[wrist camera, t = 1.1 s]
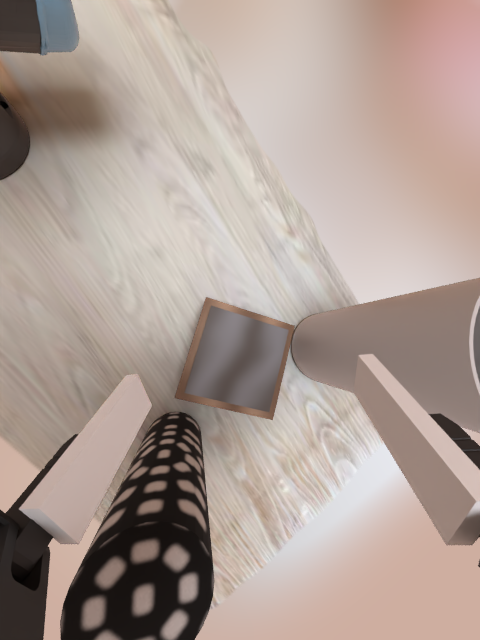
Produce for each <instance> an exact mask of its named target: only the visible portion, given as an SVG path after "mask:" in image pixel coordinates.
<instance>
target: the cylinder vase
mask: <svg viewBox="0 0 480 640" xmlns="http://www.w3.org/2000/svg"><path fill="white" fill-rule="evenodd" d="M292 354H293V358H294V360H295V363H296V365H297V366H298V368H299V369H300V370H301V372H302V373H303V374H305V375H306V376H307V377H309V378H310V379H313V380H315V381H318V382H321V383H325V384H328V385H331V386H334V387H337V388H340V389H343V390H346V391H350V392H353V391H354V383H355V376H356V368H357V361H358V355H365V354H373V355H374V356H375V357H376V358H377V359H378V360H379V361H380V362H381V363H382V364H383V366H384V367H385V368H386V369H387V370H388V371H389V372H390V373H391V374H392V375H393V376H394V377H395V379H396V380H397V381H398V382H399V383H400V384H401V385H402V386H403V387H404V388H405V389H406V390H407V392H408V393H409V394H410V395H411V396H412V397H413V398H414V399H415V400H416V401H417V402H418V403H419V405H420V406H421V407H422V408H423V409H424V410H425V411H426V412H427V413H428V414H437V413H441V414H442V415H444V416H445V417H447V418H449V419H450V420H452V421H453V422H455V423H456V424H458V425H459V426H460V427H462V428H466V429H469V430H472V431H475V432H478V433H480V278H477V279H472V280H467V281H463V282H458V283H454V284H449V285H445V286H440V287H436V288H431V289H427V290H422V291H418V292H414V293H409V294H405V295H400V296H395V297H391V298H386V299H382V300H377V301H373V302H368V303H364V304H359V305H355V306H350V307H346V308H341V309H337V310H332V311H327V312H323V313H318V314H314V315H311V316H309V317H307V318H306V319H304V320H303V321H302V322H301V323H300V324H299V325H298V327H297V328H296V330H295V332H294V335H293V339H292ZM353 393H354V392H353Z"/></svg>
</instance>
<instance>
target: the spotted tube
mask: <svg viewBox="0 0 480 640" xmlns="http://www.w3.org/2000/svg"><path fill="white" fill-rule="evenodd" d="M213 588H214V572H213V561H212V550H211V539H210V528H209V517H208V506H207V495H206V484H205V473H204V462H203V451H202V440H201V431H200V428H199V425H198V424H197V422H196V421H195V420H194V419H193V418H192V417H191V416H189V415H187V414H185V413H181V412H173V413H168V414H165V415H163V416H161V417H160V418H158V419H157V420H156V421H155V422H154V423H153V424H152V425H151V426H150V428H149V430H148V432H147V433H146V435H145V437H144V439H143V441H142V443H141V445H140V447H139V449H138V451H137V453H136V455H135V457H134V459H133V461H132V463H131V465H130V467H129V469H128V471H127V473H126V475H125V477H124V479H123V481H122V483H121V485H120V487H119V489H118V491H117V493H116V495H115V497H114V499H113V501H112V503H111V505H110V507H109V509H108V511H107V513H106V515H105V517H104V519H103V521H102V523H101V525H100V527H99V529H98V531H97V533H96V535H95V537H94V539H93V541H92V543H91V546H90V547H89V549H88V552H87V554H86V555H85V557H84V559H83V561H82V564H81V566H80V567H79V569H78V572H77V574H76V575H75V577H74V579H73V581H72V583H71V585H70V587H69V590H68V593H67V596H66V598H65V601H64V604H63V610H62V616H61V621H60V626H61V640H195V638H196V636H197V634H198V633H199V631H200V629H201V628H202V626H203V624H204V621H205V619H206V617H207V614H208V612H209V609H210V605H211V601H212V597H213Z"/></svg>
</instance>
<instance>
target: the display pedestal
mask: <svg viewBox="0 0 480 640" xmlns="http://www.w3.org/2000/svg"><path fill="white" fill-rule="evenodd" d="M293 331H294V326H293V325H290V324H287V323H284V322H281V321H278V320H275V319H272V318H269V317H266V316H263V315H260V314H256V313H253V312H250V311H247V310H244V309H241V308H238V307H235V306H232V305H229V304H226V303H223V302H219V301H216V300H213V299H210V298H207V297H206V299H205V302H204V306H203V309H202V312H201V315H200V318H199V321H198V325H197V328H196V331H195V334H194V337H193V341H192V344H191V347H190V350H189V353H188V357H187V360H186V363H185V366H184V369H183V373H182V376H181V379H180V382H179V385H178V388H177V392H176V395H175V398H177V399H181V400H186V401H190V402H195V403H199V404H204V405H208V406H213V407H217V408H222V409H226V410H231V411H235V412H240V413H244V414H248V415H253V416H257V417H262V418H266V419H271V420H273V416H274V412H275V408H276V403H277V399H278V395H279V391H280V386H281V382H282V378H283V373H284V369H285V365H286V361H287V356H288V352H289V348H290V343H291V339H292V335H293Z"/></svg>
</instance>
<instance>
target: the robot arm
mask: <svg viewBox="0 0 480 640" xmlns="http://www.w3.org/2000/svg"><path fill="white" fill-rule="evenodd" d="M78 42H79V31H78V26H77V22H76V18H75V14H74V10H73V6H72V2H71V0H0V51H9V52H25V53H39V54H40V55H46V54H47V52H72V51H73V50H74V49H75V48H76V47H77V45H78ZM28 150H29V134H28V130H27V128H26V125H25V123H24V122H23V120H22V118H21V117H20V116H19V114H18V113H17V112H16V111H15V109H14V108H13V107H12V105H11V104H10V103H9V101H8V100H7V99H6V98H5V97H4V96H3V95H2V94H1V93H0V179H2V178H4V177H6V176H8V175H9V174H11V173H12V172H14V171H15V170H16V169H17V168H18V167H19V166H20V165H21V164H22V163H23V161H24V160H25V158H26V156H27V153H28ZM353 392H354V394H355V395H356V397H357V398H358V400H359V402H360V403H361V405H362V407H363V408H364V410H365V412H366V413H367V415H368V417H369V418H370V420H371V422H372V423H373V425H374V427H375V428H376V430H377V431H378V433H379V435H380V436H381V438H382V440H383V441H384V443H385V445H386V446H387V448H388V450H389V451H390V453H391V455H392V456H393V458H394V459H395V461H396V463H397V464H398V466H399V468H400V469H401V471H402V473H403V474H404V476H405V478H406V479H407V481H408V483H409V484H410V486H411V487H412V489H413V491H414V493H415V494H416V496H417V497H418V499H419V501H420V502H421V504H422V506H423V507H424V509H425V511H426V512H427V514H428V515H429V517H430V519H431V521H432V522H433V524H434V526H435V527H436V529H437V530H438V532H439V534H440V535H441V537H442V539H443V540H444V542H445V544H446V545H472V544H474V542H475V541H476V540H477V539H478V538H479V537H480V446H479V445H478V444H477V443H476V442H475V441H474V440H471V438H470V436H469V435H468V434H467V433H466V432H465V431H464V430H463V429H462V428H461V427H460V426H459V425H458V424H456V423H455V422H453V421H452V420H450V419H449V418H447V417H445V416H444V415H442V414H441V413H437V414H428V413H427V412H426V411H425V410H424V409H423V408H422V407H421V406H420V405H419V403H418V402H417V401H416V400H415V399H414V398H413V397H412V396H411V395H410V394H409V393H408V392H407V390H406V389H405V388H404V387H403V386H402V385H401V384H400V383H399V382H398V381H397V380H396V379H395V377H394V376H393V375H392V374H391V373H390V372H389V371H388V370H387V369H386V368H385V367H384V366H383V364H382V363H381V362H380V361H379V360H378V359H377V358H376V357H375V356H374V355H373V354H365V355H358V361H357V368H356V376H355V383H354V391H353ZM151 407H152V404H151V402H150V400H149V398H148V395H147V393H146V391H145V389H144V386H143V384H142V382H141V380H140V378H139V375H138V374H130V375H126V376H125V377H124V378H123V380H122V381H121V382H120V383H119V385H118V386H117V387H116V388H115V390H114V391H113V392H112V393H111V395H110V396H109V397H108V398H107V400H106V401H105V402H104V403H103V405H102V406H101V407H100V408H99V410H98V411H97V412H96V413H95V415H94V416H93V417H92V418H91V420H90V421H89V422H88V423H87V425H86V426H85V427H84V428H83V430H82V431H81V432H80V433H79V434H75V435H74V436H73V437H72V438H70V439H69V440H68V441H67V442H66V443H65V444H63V445H62V447H61V448H60V449H59V450H58V451H57V453H56V454H55V455H54V456H53V459H51V460H50V461H49V462H48V463H47V465H46V466H45V468H44V469H42V471H41V472H40V473H39V474H38V475H37V477H36V478H35V479H34V480H33V481H32V483H31V484H30V485H29V486H28V487H27V489H26V490H25V491H24V492H23V493H22V495H21V496H20V497H19V498H18V499H17V501H16V502H15V503H14V504H13V505H12V507H11V508H10V509H9V510H8V511H7V512H6V513H4V512H3V511H1V510H0V640H43V636H44V622H45V611H46V598H47V586H48V573H49V561H50V550H49V547H48V544H49V543H50V541H51V539H52V538H54V539H56V540H57V541H58V542H59V543H60V544H79V543H80V541H81V539H82V537H83V535H84V533H85V531H86V529H87V528H88V526H89V524H90V522H91V520H92V518H93V516H94V514H95V512H96V511H97V509H98V507H99V505H100V503H101V501H102V499H103V497H104V495H105V494H106V492H107V490H108V488H109V486H110V484H111V482H112V480H113V478H114V477H115V475H116V473H117V471H118V469H119V467H120V465H121V463H122V461H123V460H124V458H125V456H126V454H127V452H128V450H129V448H130V446H131V444H132V442H133V441H134V439H135V437H136V435H137V433H138V431H139V429H140V427H141V425H142V424H143V422H144V420H145V418H146V416H147V414H148V412H149V410H150V408H151ZM478 566H479V567H480V561H479V565H478Z"/></svg>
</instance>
